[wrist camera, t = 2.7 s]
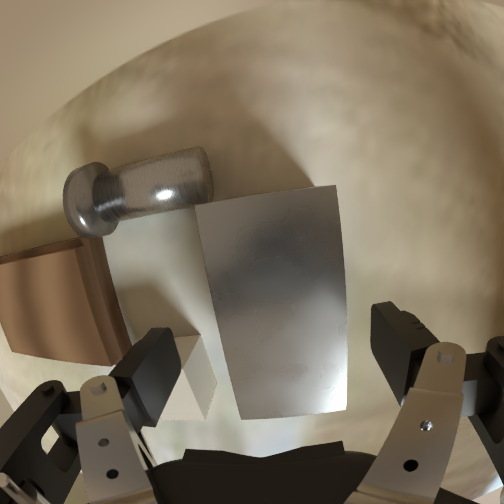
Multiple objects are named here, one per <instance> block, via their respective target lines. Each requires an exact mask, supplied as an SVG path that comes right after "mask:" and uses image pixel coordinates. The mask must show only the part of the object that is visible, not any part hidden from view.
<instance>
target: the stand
mask: <svg viewBox="0 0 504 504" xmlns="http://www.w3.org/2000/svg"><path fill="white" fill-rule="evenodd" d="M0 323H1V326H2V328H3V331H4V334H5V336H6V339H7V341H8V343H9V346H10V348H11V350H12V352H15V353H20V354H25V355H30V356H35V357H41V358H47V359H53V360H59V361H66V362H73V363H81V364H90V365H100V366H111V367H112V366H113V364H114V365H117V364H118V363H119V361H120V360H122V358H123V356H124V355H125V354H127V352H128V350H129V349H130V348H131V347H132V345H131V342H130V339H129V336H128V333H127V330H126V327H125V324H124V321H123V317H122V314H121V311H120V307H119V304H118V301H117V297H116V293H115V290H114V286H113V282H112V278H111V274H110V270H109V266H108V262H107V258H106V253H105V249H104V244H103V239H102V236H100V237H95V238H91V239H87V238H83V237H79V238H74V239H70V240H66V241H61V242H57V243H53V244H49V245H45V246H40V247H36V248H32V249H28V250H24V251H21V252H17V253H13V254H9V255H5V256H2V257H0Z"/></svg>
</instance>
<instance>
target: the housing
mask: <svg viewBox="0 0 504 504" xmlns="http://www.w3.org/2000/svg"><path fill="white" fill-rule="evenodd" d="M195 212H196V218H197V224H198V229H199V235H200V240H201V246H202V251H203V256H204V262H205V267H206V272H207V277H208V282H209V287H210V292H211V296H212V301H213V306H214V311H215V315H216V320H217V324H218V329H219V333H220V337H221V342H222V346H223V350H224V355H225V359H226V363H227V367H228V371H229V375H230V379H231V383H232V387H233V391H234V395H235V399H236V402H237V406H238V410H239V414H240V417H241V420H248V419H269V418H283V417H294V416H304V415H312V414H320V413H327V412H333V411H340V410H345V409H346V395H347V307H346V285H345V269H344V256H343V244H342V233H341V223H340V214H339V206H338V198H337V190H336V185H329V186H315V187H307V188H299V189H291V190H283V191H276V192H269V193H262V194H255V195H249V196H242V197H236V198H230V199H224V200H219V201H214V202H209V203H204V204H199V205H195Z"/></svg>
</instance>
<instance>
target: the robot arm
mask: <svg viewBox="0 0 504 504" xmlns="http://www.w3.org/2000/svg"><path fill="white" fill-rule="evenodd" d="M370 343H371V349H372V353H373V355H374V357H375V359H376V361H377V363H378V364H379V366H380V368H381V370H382V372H383V374H384V376H385V378H386V380H387V382H388V383H389V385H390V387H391V389H392V391H393V393H394V395H395V397H396V399H397V401H398V403H399V405H400V407H402V408H401V410H400V412H399V414H398V416H397V419H396V421H395V423H394V425H393V427H392V429H391V431H390V433H389V435H388V437H387V439H386V441H385V443H384V444H383V446H382V448H381V450H380V452H379V454H378V455H377V456H375V455H372V454H368V453H363V452H355V451H344V446H343V442H342V441H338V442H332V443H326V444H319V445H312V446H304V447H300V448H297V449H293V450H290V451H286V452H283V453H279V454H275V455H271V456H267V457H261V458H259V457H252V456H246V455H241V454H236V453H231V452H226V451H217V450H195V449H186V450H185V453H184V456H183V459H179V460H174V461H169V462H166V463H162V464H160V465H157V463H156V461H155V459H154V457H153V455H152V453H151V451H150V448H149V446H148V444H147V442H146V440H145V437H144V435H143V433H142V432H141V429H142V427H143V426H147V427H156V425H157V423H158V420H159V418H160V416H161V414H162V412H163V410H164V408H165V405H166V403H167V401H168V399H169V397H170V395H171V393H172V390H173V388H174V386H175V384H176V382H177V380H178V378H179V376H180V373H181V359H180V356H179V353H178V350H177V346H176V343H175V340H174V336H173V333H172V331H171V329H170V328H168V327H167V328H151V329H150V330H149V332H148V333H147V334H146V335H145V337H144V338H143V339H142V340H140V341H139V342H137V343H136V344H134V345H133V346H132V347H131V348H130V349H129V350H128V352H127V354H125V355H124V356H123V358H122V360H120V361H119V363H118V364H117V365H116V366H115V367H114V369H113V370H112V371H111V372H110V374H109V375H108V376H106V375H102V376H97V377H94V378H91V379H89V380H88V381H86V382H85V383H84V384H83V385H82V386H81V388H80V391H73V392H67V391H66V389H65V388H64V386H63V384H62V382H60V381H57V380H51V381H47V382H44V383H42V384H41V385H39V386H38V387H37V388H36V389H35V390H34V391H33V392H32V393H31V394H30V395H29V396H28V398H27V399H26V400H25V401H24V402H23V403H22V404H21V405H20V406H19V407H18V409H17V410H16V411H15V412H14V413H13V414H12V415H11V417H10V418H9V419H8V420H7V421H6V422H5V423H4V425H3V426H2V427H1V428H0V504H64V502H65V500H66V497H67V496H68V494H69V492H70V490H71V488H72V486H73V484H74V482H75V480H76V478H77V476H78V474H79V472H80V470H81V469H82V473H83V478H84V483H85V487H86V492H87V496H88V500H89V503H88V504H479V503H476V502H474V501H471V500H469V499H466V498H464V497H461V496H459V495H457V494H454V493H452V492H450V491H447V490H445V489H443V488H441V487H440V485H441V482H442V479H443V477H444V474H445V471H446V468H447V465H448V462H449V458H450V455H451V452H452V448H453V445H454V441H455V437H456V433H457V429H458V425H459V420H460V417H464V416H468V418H469V420H470V421H471V423H472V425H473V426H474V428H475V430H476V432H477V434H478V435H479V437H480V439H481V441H482V443H483V445H484V446H485V448H486V450H487V452H488V454H489V456H490V458H491V460H492V462H493V464H494V466H495V468H496V470H497V472H498V474H499V476H500V478H501V481H502V483H503V485H504V336H497V337H494V338H492V339H490V340H489V341H488V343H487V347H486V350H485V352H483V353H475V354H466V351H465V350H464V349H463V348H462V347H461V346H459V345H457V344H455V343H451V342H440V341H439V340H438V339H437V338H436V337H435V336H434V335H433V334H432V333H431V332H430V331H429V330H428V329H427V328H425V326H424V324H423V323H422V322H421V323H420V320H419V319H418V318H417V317H416V316H415V315H413V314H411V313H409V312H407V311H400V310H399V309H398V308H397V307H396V306H395V305H394V304H393V303H392V302H391V301H388V302H383V303H377V304H373V305H372V308H371V336H370ZM51 425H52V427H53V428H54V430H55V431H56V433H57V434H58V435H59V438H58V439H57V441H56V442H55V444H54V445H53V447H52V448H51V450H50V451H49V453H48V454H46V453H45V452H44V450H43V449H42V446H41V439H42V437H43V435H44V434H45V433H46V431H47V430H48V428H49V427H50V426H51ZM500 502H501V503H500V504H504V487H503V489H502V491H501V495H500Z"/></svg>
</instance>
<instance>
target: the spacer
mask: <svg viewBox="0 0 504 504" xmlns="http://www.w3.org/2000/svg"><path fill="white" fill-rule="evenodd" d="M174 340H175V343H176V346H177V350H178V353H179V356H180V359H181V373H180V376H179V378H178V380H177V382H176V384H175V386H174V388H173V390H172V393H171V395H170V397H169V399H168V401H167V403H166V405H165V408H164V410H163V412H162V414H161V416H160V418H159V419H161V420H205V419H206V416H207V413H208V410H209V407H210V404H211V401H212V398H213V394H214V391H215V388H216V385H217V380H216V378H215V375H214V372H213V369H212V366H211V364H210V361H209V358H208V355H207V352H206V349H205V346H204V343H203V340H202V337H201V335H193V336H184V337H174Z"/></svg>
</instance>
